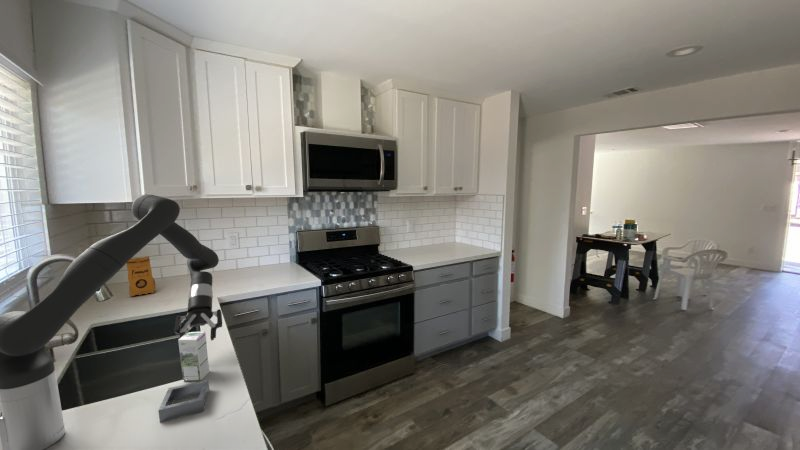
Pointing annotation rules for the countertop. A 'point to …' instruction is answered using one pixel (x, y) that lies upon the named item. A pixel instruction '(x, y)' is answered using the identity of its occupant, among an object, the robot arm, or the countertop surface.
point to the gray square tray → (187, 407)
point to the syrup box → (194, 356)
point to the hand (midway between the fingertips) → (197, 342)
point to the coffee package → (140, 276)
